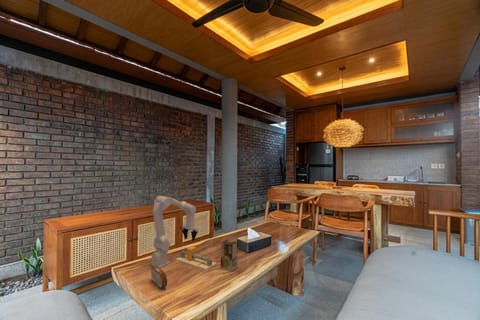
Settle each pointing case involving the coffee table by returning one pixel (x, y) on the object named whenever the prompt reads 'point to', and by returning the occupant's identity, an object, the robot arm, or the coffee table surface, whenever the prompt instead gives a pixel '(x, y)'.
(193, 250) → the orange block with hole
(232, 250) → the coffee box
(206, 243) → the coffee table surface
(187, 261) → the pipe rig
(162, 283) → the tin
